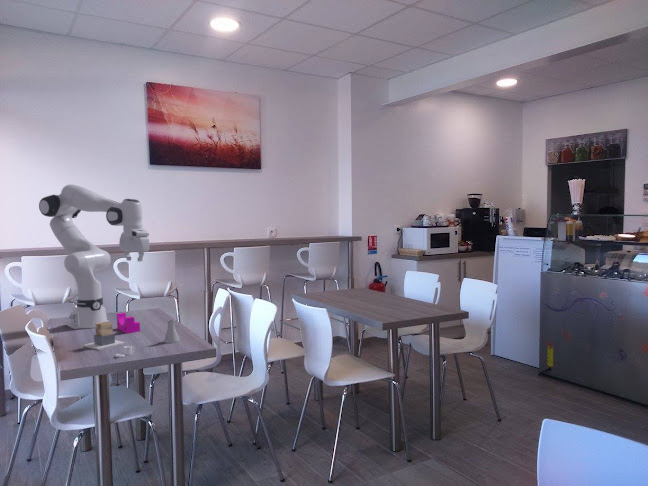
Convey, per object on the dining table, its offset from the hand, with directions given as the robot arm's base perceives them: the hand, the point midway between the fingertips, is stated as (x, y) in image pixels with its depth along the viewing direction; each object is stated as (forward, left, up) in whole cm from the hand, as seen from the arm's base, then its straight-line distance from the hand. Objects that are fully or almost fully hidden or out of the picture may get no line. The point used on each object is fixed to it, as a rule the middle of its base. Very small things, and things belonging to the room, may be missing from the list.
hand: (134, 260), depth 251 cm
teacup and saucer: (+34, -29, -35) cm, 57 cm away
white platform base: (+14, -25, -34) cm, 45 cm away
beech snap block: (+14, -25, -29) cm, 41 cm away
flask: (+34, -5, -34) cm, 49 cm away
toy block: (-5, -2, -35) cm, 35 cm away
